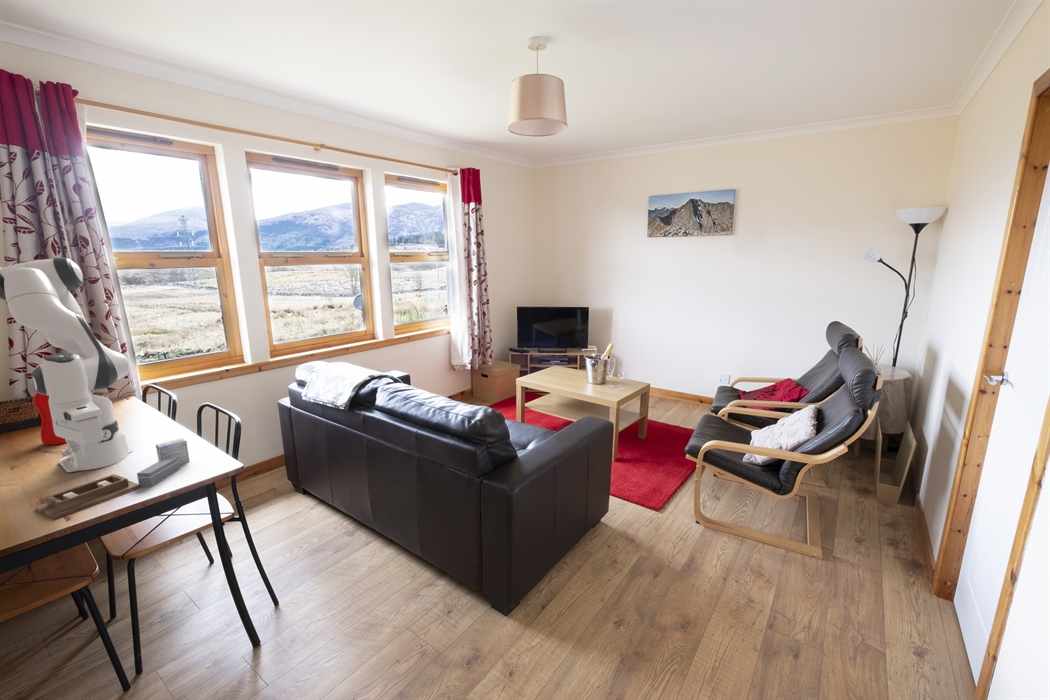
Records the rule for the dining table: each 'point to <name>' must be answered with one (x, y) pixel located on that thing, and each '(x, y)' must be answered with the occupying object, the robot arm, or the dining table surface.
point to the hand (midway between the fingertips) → (81, 453)
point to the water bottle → (46, 420)
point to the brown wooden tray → (86, 496)
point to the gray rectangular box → (158, 472)
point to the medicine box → (173, 450)
